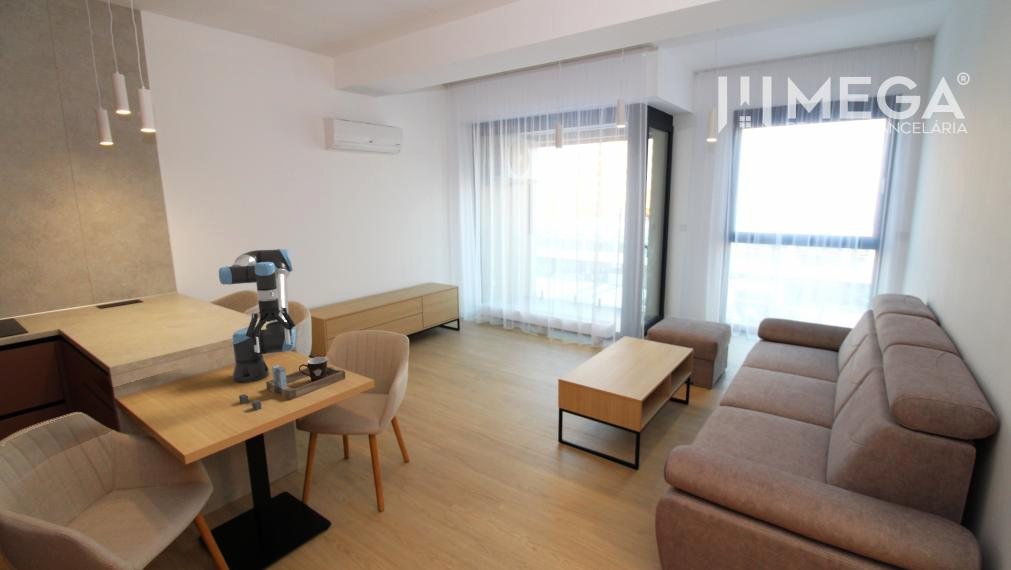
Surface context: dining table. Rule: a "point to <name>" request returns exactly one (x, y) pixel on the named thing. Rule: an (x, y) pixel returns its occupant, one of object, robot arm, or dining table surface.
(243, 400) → the block
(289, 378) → the brown frame
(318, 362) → the coffee mug
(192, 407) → the dining table surface
